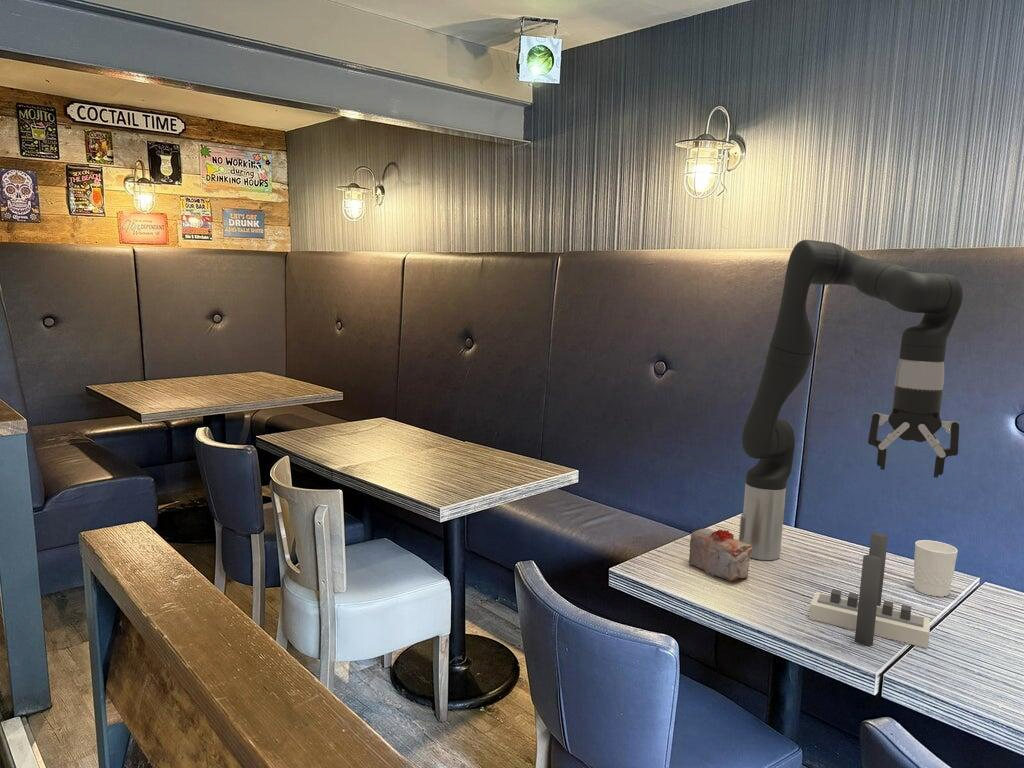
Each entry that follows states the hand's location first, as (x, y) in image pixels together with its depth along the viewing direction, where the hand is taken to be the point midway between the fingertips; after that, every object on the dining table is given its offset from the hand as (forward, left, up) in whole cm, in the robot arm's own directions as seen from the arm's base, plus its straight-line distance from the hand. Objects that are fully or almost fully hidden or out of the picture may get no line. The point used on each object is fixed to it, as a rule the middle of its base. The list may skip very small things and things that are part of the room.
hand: (908, 472), depth 130 cm
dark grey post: (-4, -8, -31) cm, 32 cm away
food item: (-35, +9, -31) cm, 48 cm away
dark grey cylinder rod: (-4, +7, -31) cm, 32 cm away
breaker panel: (-4, 0, -31) cm, 31 cm away
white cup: (+6, +27, -31) cm, 42 cm away
